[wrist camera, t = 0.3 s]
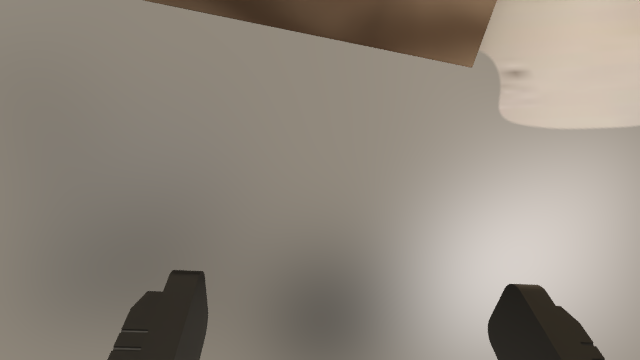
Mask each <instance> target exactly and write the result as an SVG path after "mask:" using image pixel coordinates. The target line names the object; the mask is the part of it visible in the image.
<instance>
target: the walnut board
mask: <svg viewBox="0 0 640 360" xmlns="http://www.w3.org/2000/svg"><path fill="white" fill-rule="evenodd" d="M145 1H150V2H155V3H160V4H164V5H169V6H174V7H179V8H184V9H189V10H193V11H199V12H203V13H208V14H213V15H218V16H223V17H228V18H233V19H237V20H243V21H247V22H252V23H257V24H262V25H267V26H271V27H277V28H282V29H286V30H291V31H296V32H301V33H306V34H311V35H316V36H320V37H325V38H330V39H335V40H340V41H345V42H349V43H354V44H359V45H364V46H369V47H374V48H379V49H384V50H389V51H393V52H398V53H403V54H408V55H413V56H418V57H423V58H428V59H432V60H438V61H442V62H447V63H452V64H457V65H462V66H466V67H472V66H473V63H474V61H475V58H476V55H477V53H478V50H479V47H480V45H481V42H482V39H483V36H484V34H485V31H486V28H487V25H488V23H489V20H490V17H491V15H492V12H493V9H494V6H495V4H496V1H497V0H145Z"/></svg>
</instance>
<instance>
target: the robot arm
mask: <svg viewBox="0 0 640 360" xmlns="http://www.w3.org/2000/svg"><path fill="white" fill-rule="evenodd" d="M207 321H208V306H207V295H206V285H205V276H204V272H203V271H184V270H173V271H172V272H171V273H170V275H169V278H168V280H167V283H166V286H165V288H164V291H163V292H156V291H154V292H153V291H148V292H146V293H145V295H144V296H143V297H142V298H141V299H140V300H139V301H138V302H137V303H136V304H135V305H134V306H133V307H132V308H131V309H130V312H129V314H128V316H127V318H126V320H125V323H124V325H123V327H122V331H121V333H120V334H119V336H118V338H117V340H116V342H115V344H114V349H113V351H111V353H110V355H109V358H108V360H199V359H200V355H201V351H202V347H203V343H204V339H205V335H206V329H207ZM488 335H489V340H490V343H491V345H492V347H493V349H494V352H495V354H496V356H497V359H498V360H605V359H604V357H603V356H602V354H601V353H600V351H599V350H598V348H597V347H596V346H593V341H592V340H591V338H590V337H589V336H588V334H587V333H586V332H585V330H584V329H583V327H582V326H581V324H580V323H579V322H578V321H577V320H576V319H574V318H573V317H572V316H571V315H570V314H569V313H567V311H565V310H564V309H563V308H562V307H561V306H555V304H554V303H553V301H552V300H551V298H550V297H549V295H548V294H547V292H546V291H545V289H543V288H542V287H541V286H539V285H523V284H509V285H507V286H506V288H505V289H504V291H503V293H502V296H501V297H500V300H499V301H498V303H497V305H496V307H495V309H494V311H493V314H492V315H491V317H490V320H489V323H488Z"/></svg>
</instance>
